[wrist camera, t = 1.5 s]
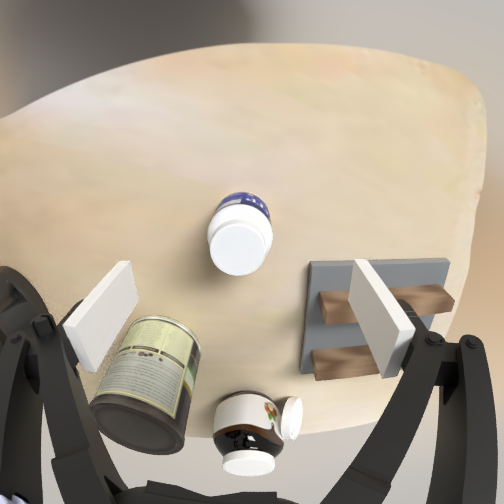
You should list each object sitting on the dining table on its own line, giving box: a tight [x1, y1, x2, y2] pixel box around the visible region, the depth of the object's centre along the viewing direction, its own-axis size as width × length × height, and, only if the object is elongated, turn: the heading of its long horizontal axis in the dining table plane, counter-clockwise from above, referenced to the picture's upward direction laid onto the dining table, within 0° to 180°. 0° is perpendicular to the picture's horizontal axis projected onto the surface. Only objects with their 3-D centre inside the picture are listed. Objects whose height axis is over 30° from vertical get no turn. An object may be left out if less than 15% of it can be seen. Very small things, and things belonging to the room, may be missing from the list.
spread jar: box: [213, 391, 302, 476], centre depth 34 cm, size 12×11×12 cm
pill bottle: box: [207, 191, 273, 276], centre depth 24 cm, size 5×5×9 cm
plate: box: [300, 258, 450, 374], centre depth 33 cm, size 18×16×1 cm
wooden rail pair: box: [311, 284, 455, 381], centre depth 30 cm, size 16×10×4 cm, turn 91°
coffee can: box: [89, 315, 201, 455], centre depth 29 cm, size 10×10×14 cm
